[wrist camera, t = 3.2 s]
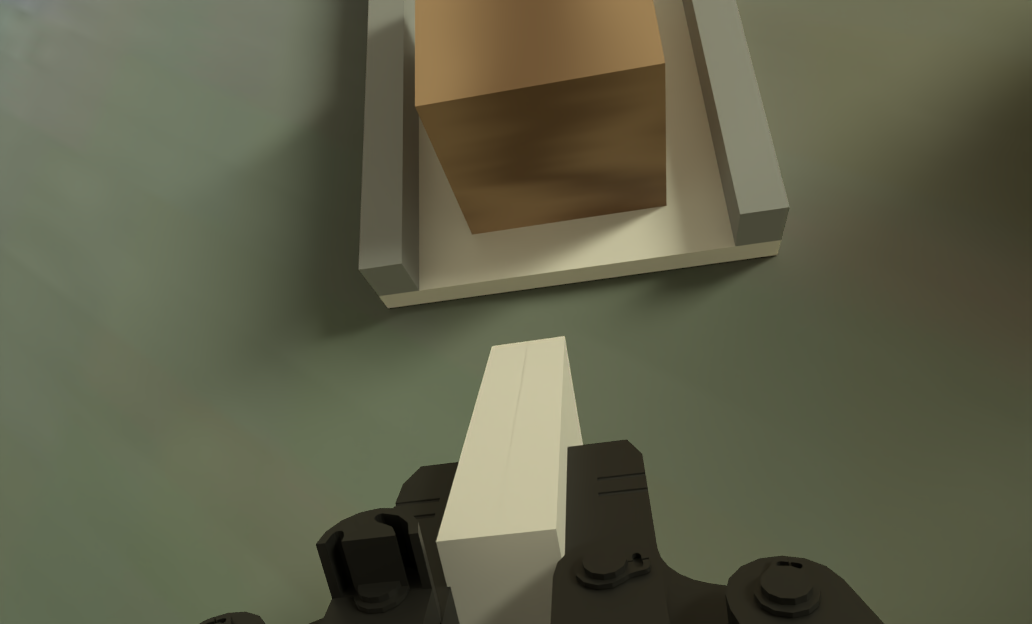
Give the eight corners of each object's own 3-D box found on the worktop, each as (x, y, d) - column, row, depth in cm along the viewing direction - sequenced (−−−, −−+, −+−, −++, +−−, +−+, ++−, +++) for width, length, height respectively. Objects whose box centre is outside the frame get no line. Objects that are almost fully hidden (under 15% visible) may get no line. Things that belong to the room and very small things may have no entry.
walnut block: (630, 1, 31) (621, -167, 25) (666, 205, 27) (665, 63, 21) (464, 32, 32) (414, -122, 26) (472, 234, 28) (414, 106, 22)
